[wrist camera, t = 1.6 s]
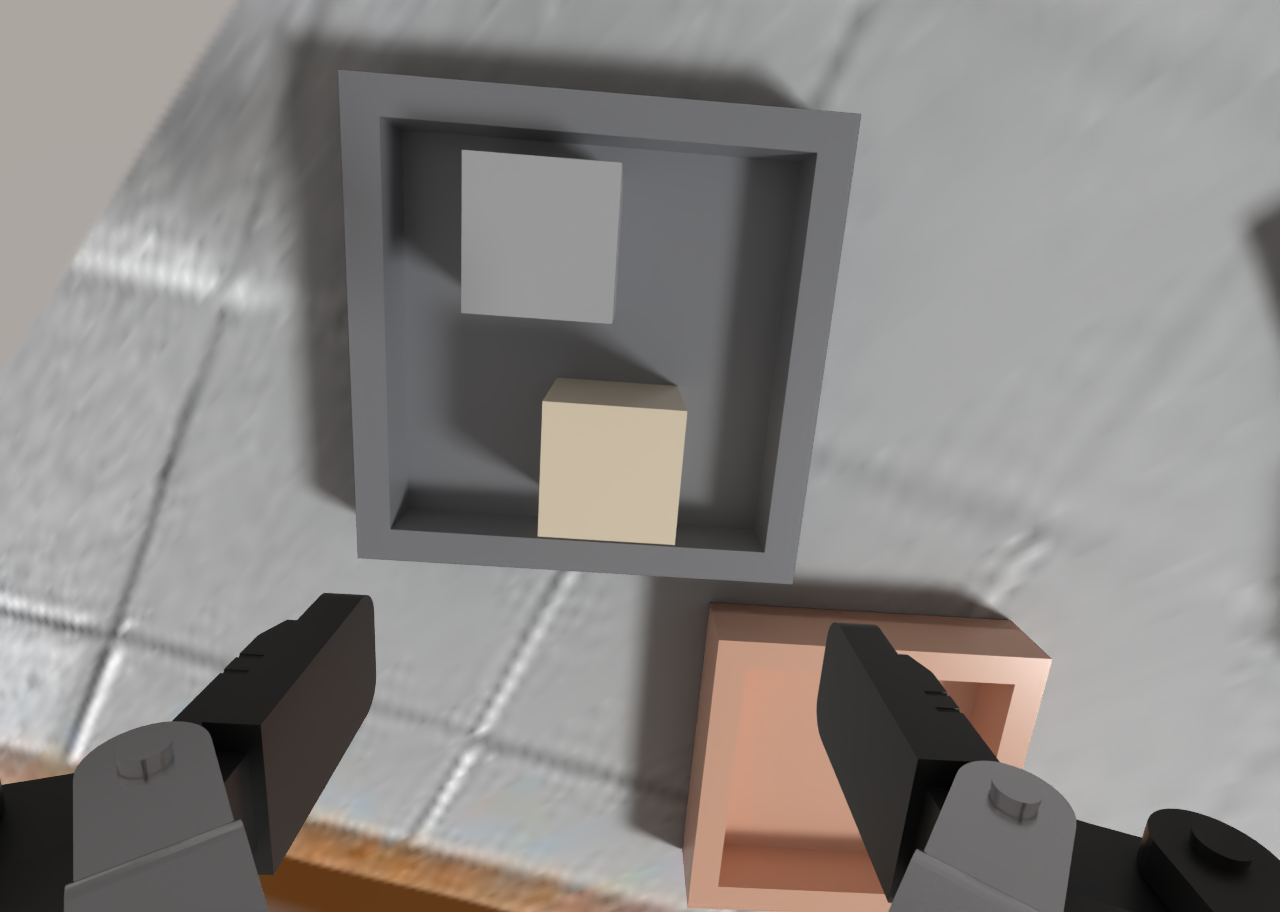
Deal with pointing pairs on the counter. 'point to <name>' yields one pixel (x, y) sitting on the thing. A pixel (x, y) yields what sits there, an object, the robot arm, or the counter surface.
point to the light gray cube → (540, 236)
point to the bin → (620, 352)
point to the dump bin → (820, 749)
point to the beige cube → (611, 461)
